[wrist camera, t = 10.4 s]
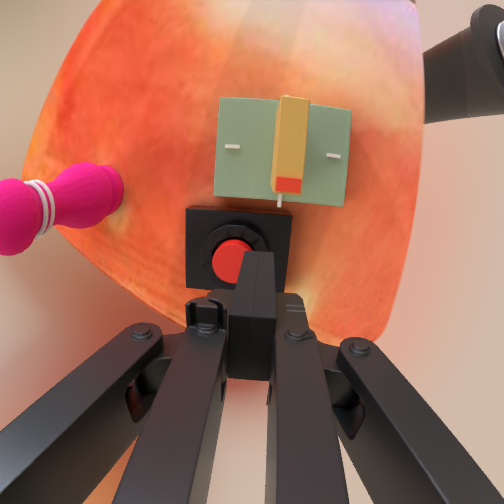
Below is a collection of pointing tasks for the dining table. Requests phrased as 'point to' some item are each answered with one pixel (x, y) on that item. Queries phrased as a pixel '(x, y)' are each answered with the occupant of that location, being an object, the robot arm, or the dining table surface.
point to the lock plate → (261, 152)
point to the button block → (233, 227)
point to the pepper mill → (56, 204)
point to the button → (229, 259)
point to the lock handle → (289, 145)
